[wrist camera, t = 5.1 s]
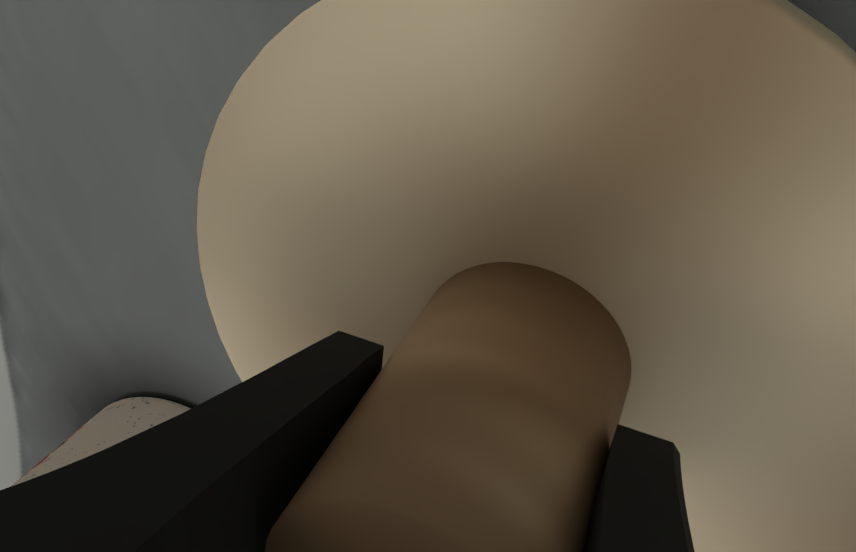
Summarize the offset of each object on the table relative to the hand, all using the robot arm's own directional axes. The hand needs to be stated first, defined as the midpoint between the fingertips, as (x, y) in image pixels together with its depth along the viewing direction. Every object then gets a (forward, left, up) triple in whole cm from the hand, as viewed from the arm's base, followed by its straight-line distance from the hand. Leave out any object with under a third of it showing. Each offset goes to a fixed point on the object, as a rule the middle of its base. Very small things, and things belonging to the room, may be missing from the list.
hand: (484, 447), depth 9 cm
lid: (0, 0, -2) cm, 2 cm away
